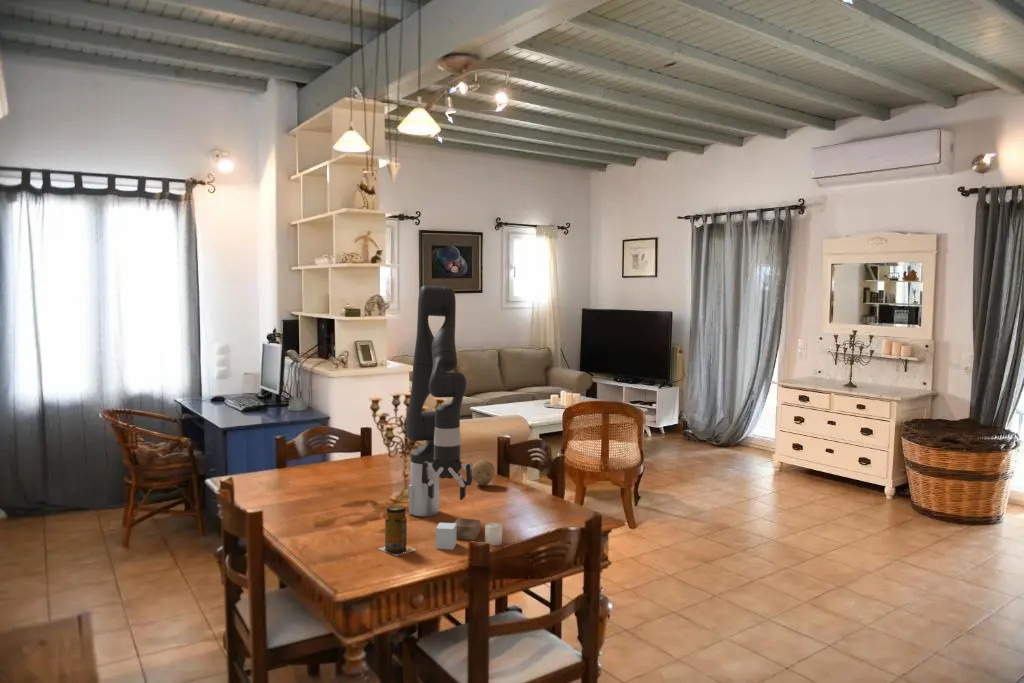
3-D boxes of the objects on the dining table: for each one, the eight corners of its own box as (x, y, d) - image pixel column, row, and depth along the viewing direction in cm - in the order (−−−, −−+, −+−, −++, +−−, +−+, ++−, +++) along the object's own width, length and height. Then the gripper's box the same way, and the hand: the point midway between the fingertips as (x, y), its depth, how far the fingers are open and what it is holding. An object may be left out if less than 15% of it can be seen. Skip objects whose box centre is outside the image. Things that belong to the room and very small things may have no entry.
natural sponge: (491, 490, 269) (491, 463, 268) (467, 488, 270) (468, 462, 270) (496, 483, 278) (496, 457, 277) (473, 482, 279) (473, 456, 278)
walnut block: (451, 538, 218) (451, 525, 218) (457, 531, 225) (457, 518, 225) (474, 540, 217) (474, 527, 217) (479, 532, 224) (480, 519, 224)
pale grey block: (435, 548, 209) (435, 528, 209) (439, 542, 214) (439, 522, 214) (453, 549, 209) (453, 529, 208) (456, 543, 214) (456, 523, 213)
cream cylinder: (483, 545, 213) (483, 528, 213) (486, 539, 218) (486, 522, 218) (500, 545, 212) (501, 529, 212) (503, 539, 217) (503, 523, 217)
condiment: (398, 543, 214) (398, 502, 213) (416, 550, 208) (417, 508, 207) (377, 549, 208) (377, 507, 207) (396, 557, 203) (396, 514, 202)
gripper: (419, 444, 206) (419, 501, 208) (469, 446, 205) (469, 503, 206) (425, 439, 214) (425, 494, 215) (474, 440, 212) (473, 496, 213)
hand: (447, 498), depth 211 cm, fingers open, 8 cm apart
